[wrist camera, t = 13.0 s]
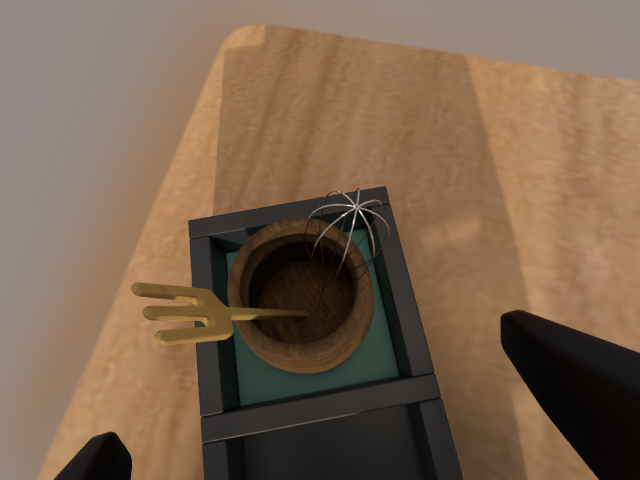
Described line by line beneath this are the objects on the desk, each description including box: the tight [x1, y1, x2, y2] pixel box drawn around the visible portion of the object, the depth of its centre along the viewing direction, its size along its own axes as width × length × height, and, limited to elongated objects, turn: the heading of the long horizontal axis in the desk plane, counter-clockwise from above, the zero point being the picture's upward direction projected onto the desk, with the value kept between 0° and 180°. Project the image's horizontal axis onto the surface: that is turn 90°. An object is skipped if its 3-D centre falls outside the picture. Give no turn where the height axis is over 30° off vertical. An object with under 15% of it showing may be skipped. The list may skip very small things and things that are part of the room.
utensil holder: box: [131, 188, 389, 373], centre depth 14 cm, size 6×6×12 cm
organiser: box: [188, 186, 463, 480], centre depth 17 cm, size 19×10×4 cm, turn 10°
